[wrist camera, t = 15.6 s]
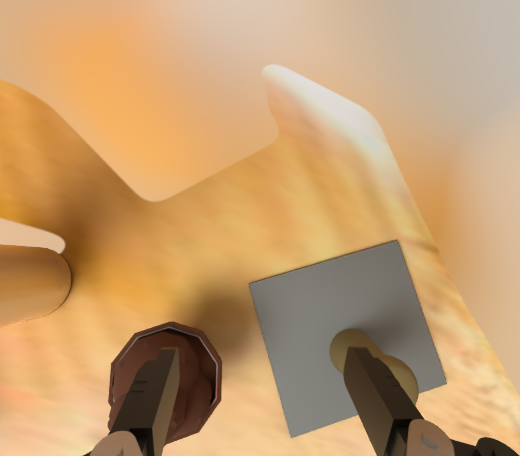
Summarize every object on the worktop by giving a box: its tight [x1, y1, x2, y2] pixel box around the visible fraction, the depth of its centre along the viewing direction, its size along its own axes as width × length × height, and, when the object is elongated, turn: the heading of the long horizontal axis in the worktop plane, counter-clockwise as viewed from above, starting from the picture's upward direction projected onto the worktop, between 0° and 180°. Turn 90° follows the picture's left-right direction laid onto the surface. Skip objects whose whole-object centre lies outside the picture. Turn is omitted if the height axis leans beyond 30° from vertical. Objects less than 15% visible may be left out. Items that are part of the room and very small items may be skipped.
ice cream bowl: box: [108, 322, 222, 446], centre depth 27 cm, size 11×11×15 cm
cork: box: [329, 328, 419, 405], centre depth 29 cm, size 6×6×11 cm
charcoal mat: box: [249, 241, 447, 438], centre depth 35 cm, size 22×20×1 cm
